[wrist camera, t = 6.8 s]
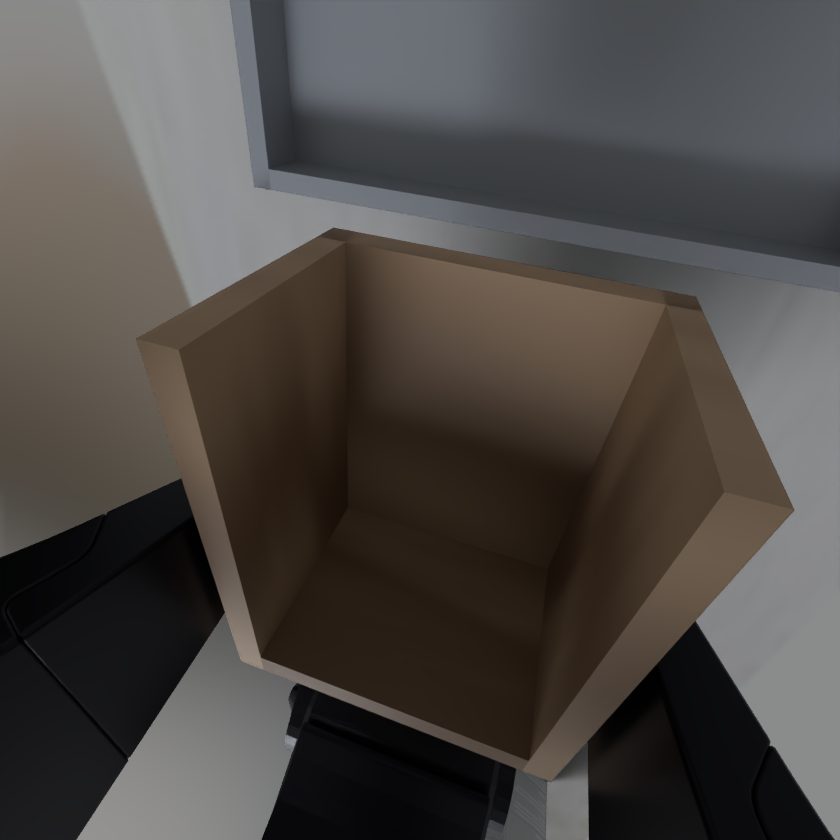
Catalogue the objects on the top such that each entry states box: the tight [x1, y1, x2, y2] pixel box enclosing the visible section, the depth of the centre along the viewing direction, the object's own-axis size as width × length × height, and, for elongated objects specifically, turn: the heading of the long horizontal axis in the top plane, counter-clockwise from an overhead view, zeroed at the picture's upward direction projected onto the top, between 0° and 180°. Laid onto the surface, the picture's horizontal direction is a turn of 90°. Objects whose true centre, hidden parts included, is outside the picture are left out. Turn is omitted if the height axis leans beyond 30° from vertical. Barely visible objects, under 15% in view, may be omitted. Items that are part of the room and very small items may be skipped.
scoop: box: [136, 228, 794, 782], centre depth 8 cm, size 7×6×4 cm
